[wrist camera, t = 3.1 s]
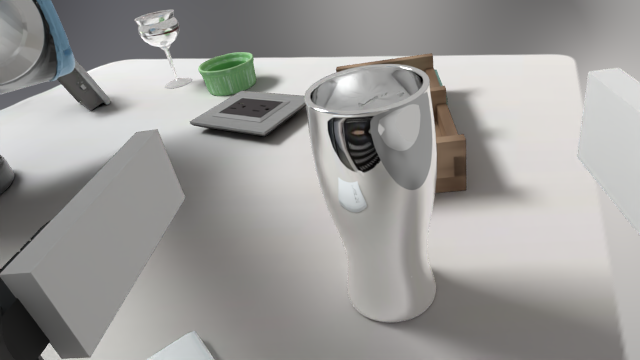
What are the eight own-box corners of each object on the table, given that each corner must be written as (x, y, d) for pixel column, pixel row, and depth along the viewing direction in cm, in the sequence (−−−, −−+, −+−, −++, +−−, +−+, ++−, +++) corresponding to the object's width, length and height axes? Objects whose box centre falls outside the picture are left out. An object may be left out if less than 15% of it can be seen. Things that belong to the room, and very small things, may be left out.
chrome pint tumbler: (330, 322, 30) (280, 117, 22) (354, 251, 35) (321, 66, 27) (438, 336, 27) (426, 112, 20) (446, 257, 33) (439, 57, 25)
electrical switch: (113, 104, 78) (84, 53, 73) (84, 118, 76) (52, 67, 71) (97, 94, 85) (70, 47, 80) (71, 107, 83) (41, 60, 77)
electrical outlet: (315, 110, 61) (312, 94, 60) (267, 147, 54) (263, 130, 53) (244, 103, 68) (240, 88, 67) (194, 135, 61) (189, 119, 60)
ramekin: (195, 98, 73) (186, 72, 71) (226, 77, 80) (218, 53, 78) (241, 98, 69) (233, 71, 67) (269, 76, 76) (262, 50, 74)
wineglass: (155, 85, 83) (129, 18, 77) (190, 73, 85) (168, 8, 79) (165, 93, 78) (138, 22, 71) (201, 80, 80) (179, 11, 74)
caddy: (331, 202, 41) (321, 155, 39) (342, 102, 61) (336, 67, 58) (469, 189, 39) (469, 139, 37) (435, 90, 58) (434, 53, 56)
